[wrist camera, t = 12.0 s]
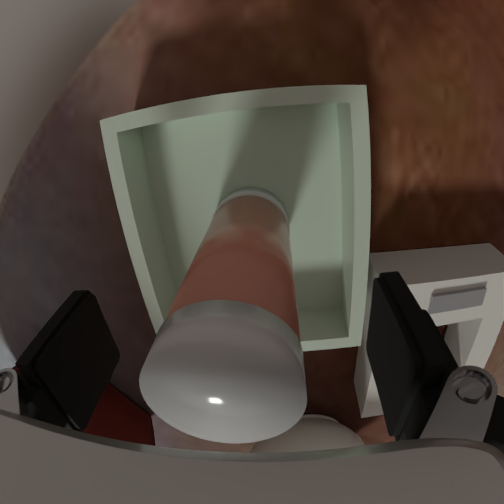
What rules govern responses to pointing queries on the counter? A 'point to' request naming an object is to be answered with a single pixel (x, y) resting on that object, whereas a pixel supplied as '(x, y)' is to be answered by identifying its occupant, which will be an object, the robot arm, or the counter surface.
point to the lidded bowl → (311, 436)
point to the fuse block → (441, 304)
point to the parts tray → (252, 175)
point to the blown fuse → (232, 331)
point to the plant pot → (119, 418)
